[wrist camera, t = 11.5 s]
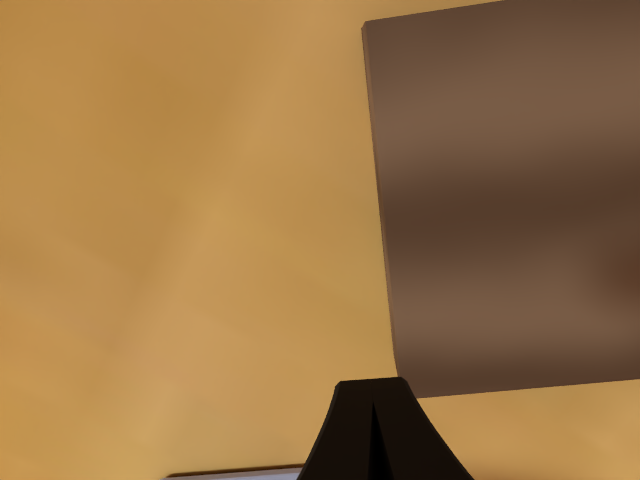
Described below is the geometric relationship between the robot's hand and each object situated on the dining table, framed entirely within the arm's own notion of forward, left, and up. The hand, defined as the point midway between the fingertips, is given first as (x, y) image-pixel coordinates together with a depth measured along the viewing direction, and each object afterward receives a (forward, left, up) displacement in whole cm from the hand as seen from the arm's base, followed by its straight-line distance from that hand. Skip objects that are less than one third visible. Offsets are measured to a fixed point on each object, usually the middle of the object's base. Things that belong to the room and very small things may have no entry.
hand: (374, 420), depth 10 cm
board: (+1, -7, -10) cm, 12 cm away
